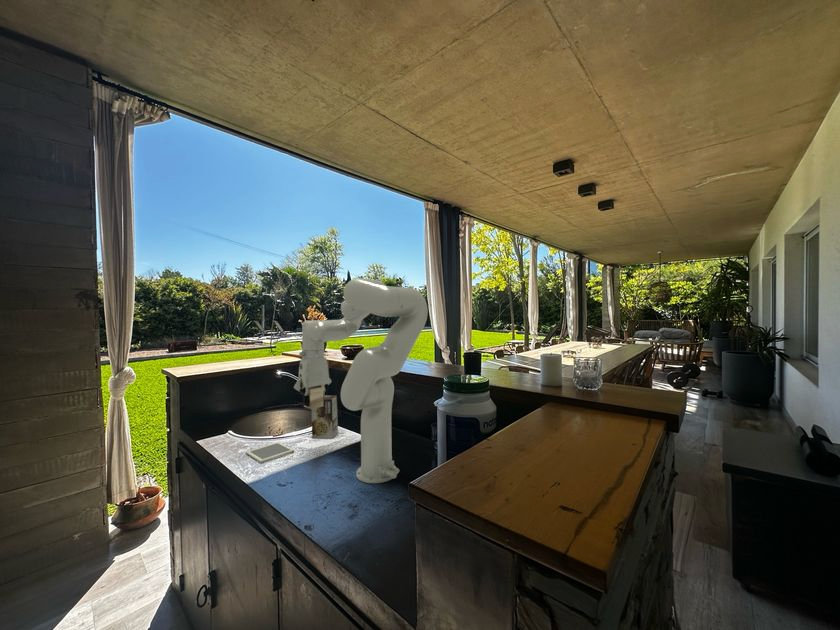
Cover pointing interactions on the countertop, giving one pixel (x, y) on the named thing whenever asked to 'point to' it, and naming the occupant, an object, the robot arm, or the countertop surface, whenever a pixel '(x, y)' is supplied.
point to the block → (315, 397)
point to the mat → (269, 452)
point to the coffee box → (325, 418)
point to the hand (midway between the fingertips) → (313, 403)
